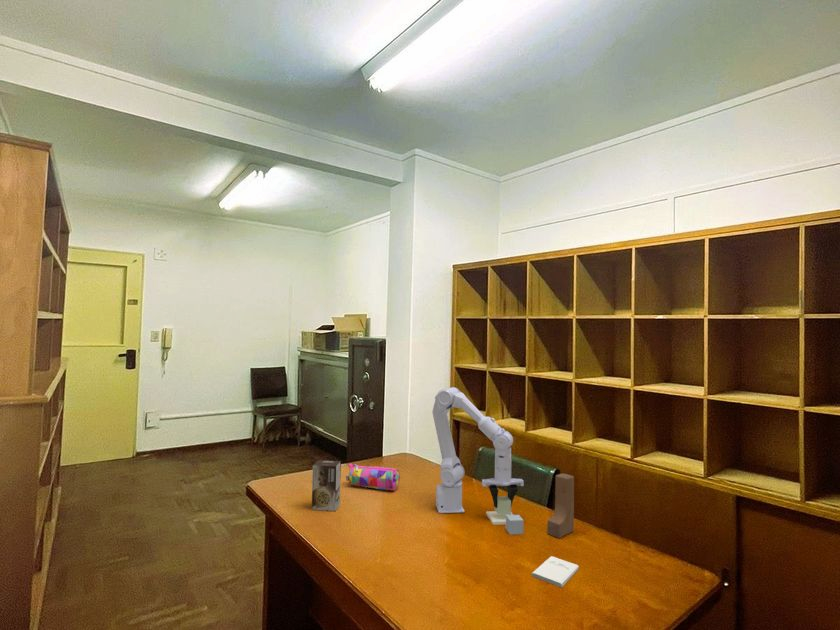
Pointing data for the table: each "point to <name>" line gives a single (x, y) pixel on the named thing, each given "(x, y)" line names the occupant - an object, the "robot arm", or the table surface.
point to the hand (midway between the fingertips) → (502, 506)
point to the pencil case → (373, 477)
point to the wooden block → (562, 507)
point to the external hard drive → (555, 571)
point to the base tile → (497, 517)
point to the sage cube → (503, 505)
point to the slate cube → (514, 524)
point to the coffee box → (326, 485)
